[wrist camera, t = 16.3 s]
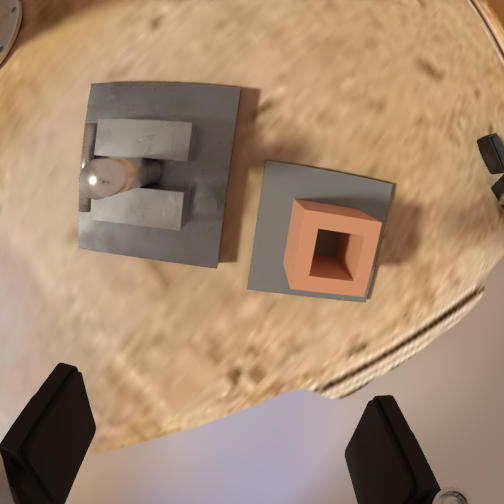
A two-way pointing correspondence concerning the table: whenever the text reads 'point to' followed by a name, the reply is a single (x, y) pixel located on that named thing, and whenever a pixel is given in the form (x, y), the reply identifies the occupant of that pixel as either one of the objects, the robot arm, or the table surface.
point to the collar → (347, 256)
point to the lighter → (494, 161)
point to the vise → (157, 170)
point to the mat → (322, 191)
